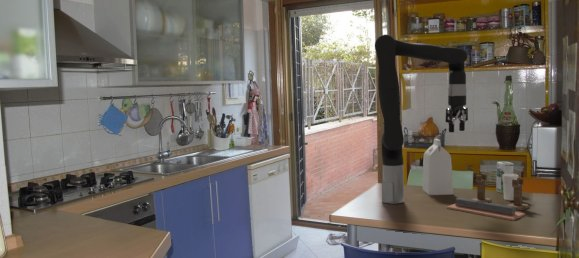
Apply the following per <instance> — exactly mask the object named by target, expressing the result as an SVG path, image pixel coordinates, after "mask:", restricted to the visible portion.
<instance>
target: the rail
mask: <svg viewBox="0 0 579 258" xmlns="http://www.w3.org/2000/svg"><path fill="white" fill-rule="evenodd" d="M454 204H455V206H459V207H465V208H470V209H476V210H482V211H487V212H493V213H498V214H504V215H510V216H513V215H515V212H516V210H515V207H513V206H507V205H508V204H507V205H506V204H500V203H494V202H489V203H488V202H482V201H476V200H471V199H470V198H469V199H468V198H463V197H456V198H455V202H454Z"/></svg>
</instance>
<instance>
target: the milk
mask: <svg viewBox="0 0 579 258" xmlns="http://www.w3.org/2000/svg"><path fill="white" fill-rule="evenodd" d="M432 143H433V144H432V145H431V146H429V147H428V149H427V150H425V152H424V153H423V163H422V164H423V165H422V191H423V192H425V194H427V195H428V196H439V195H441V196H444V195H445V196H446V195H454V184H453V183H454V181H453V165H452V156H451V154H450V153H449V152H448V151H447V150H446V149H445V148H444V147H443V146H442V143H441V139H439V138H433V142H432Z"/></svg>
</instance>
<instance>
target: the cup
mask: <svg viewBox="0 0 579 258" xmlns="http://www.w3.org/2000/svg"><path fill="white" fill-rule="evenodd" d="M517 178H519V175H518V174H515V173H513V174H503V175H502V179H503V192H504V193H503V199H504V200H505V201H514V187H512V180H513V179H514V180H517Z"/></svg>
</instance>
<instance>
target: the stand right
mask: <svg viewBox="0 0 579 258" xmlns="http://www.w3.org/2000/svg"><path fill="white" fill-rule="evenodd" d="M524 182H525V180H524V178H522V177H518V178H517V180H514V179H513V180H512V187H514V200H513V202H511V203H510V204H507V206H513V207H515V211H520V212H521V211H524V210H526V209H528V208H530V205H529V203H528V204H527V203H523V186H524Z"/></svg>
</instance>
